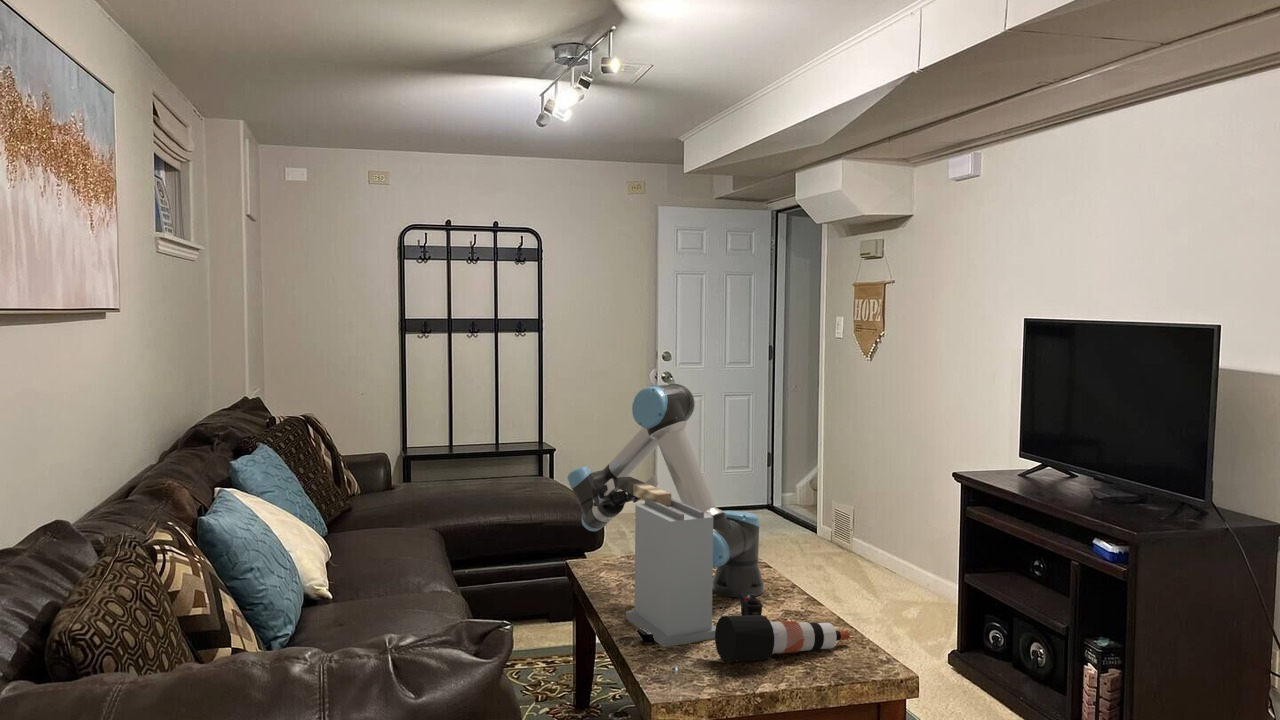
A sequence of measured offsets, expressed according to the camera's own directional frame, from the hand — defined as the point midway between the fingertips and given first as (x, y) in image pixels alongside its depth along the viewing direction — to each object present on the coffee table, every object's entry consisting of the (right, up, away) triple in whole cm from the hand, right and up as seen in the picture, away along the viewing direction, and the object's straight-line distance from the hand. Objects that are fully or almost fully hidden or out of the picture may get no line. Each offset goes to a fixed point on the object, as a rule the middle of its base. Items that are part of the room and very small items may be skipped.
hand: (634, 481), depth 243 cm
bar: (+2, -3, -4) cm, 6 cm away
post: (+10, -35, -19) cm, 41 cm away
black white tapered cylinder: (+37, -37, -35) cm, 63 cm away
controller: (+30, -36, -18) cm, 50 cm away
